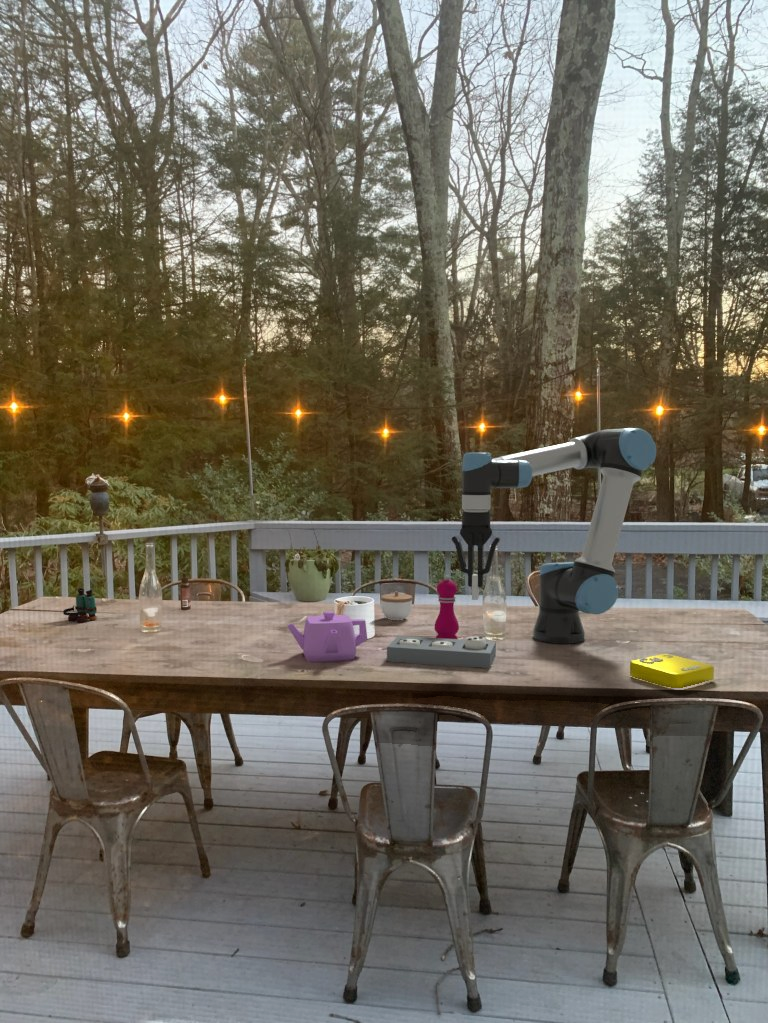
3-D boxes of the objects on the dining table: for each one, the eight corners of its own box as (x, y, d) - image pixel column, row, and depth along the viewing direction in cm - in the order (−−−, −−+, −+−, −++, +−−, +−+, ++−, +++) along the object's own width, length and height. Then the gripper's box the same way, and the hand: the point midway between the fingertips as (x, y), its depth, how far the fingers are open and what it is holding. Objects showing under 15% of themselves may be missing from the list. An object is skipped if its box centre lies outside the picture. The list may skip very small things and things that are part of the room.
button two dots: (421, 651, 211) (421, 638, 211) (417, 657, 206) (417, 643, 205) (402, 650, 213) (402, 637, 212) (397, 655, 207) (397, 641, 207)
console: (495, 655, 210) (495, 641, 210) (490, 668, 197) (490, 653, 197) (398, 649, 217) (398, 635, 216) (386, 661, 204) (386, 646, 204)
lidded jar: (414, 616, 262) (415, 589, 262) (408, 623, 252) (408, 594, 251) (384, 615, 265) (384, 588, 264) (377, 621, 254) (377, 593, 254)
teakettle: (371, 653, 213) (371, 610, 212) (334, 667, 199) (333, 620, 198) (323, 645, 222) (323, 603, 221) (285, 658, 208) (284, 613, 207)
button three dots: (486, 649, 207) (487, 635, 206) (484, 654, 201) (484, 640, 201) (466, 648, 208) (466, 634, 208) (463, 653, 203) (463, 639, 202)
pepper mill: (457, 645, 222) (457, 577, 220) (432, 644, 223) (433, 576, 222) (460, 639, 229) (460, 573, 227) (436, 638, 230) (436, 572, 229)
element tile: (677, 693, 178) (678, 673, 177) (626, 677, 190) (626, 658, 190) (717, 683, 186) (717, 664, 185) (665, 669, 198) (665, 650, 198)
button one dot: (453, 654, 209) (454, 640, 209) (450, 659, 204) (450, 645, 203) (433, 652, 210) (433, 639, 210) (430, 658, 205) (430, 644, 205)
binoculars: (56, 593, 253) (82, 586, 261) (60, 624, 254) (86, 615, 263) (73, 596, 248) (99, 588, 256) (77, 627, 250) (103, 618, 258)
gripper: (502, 510, 204) (501, 597, 206) (454, 509, 207) (453, 595, 209) (499, 512, 197) (498, 602, 198) (449, 511, 200) (448, 600, 202)
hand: (475, 598), depth 204 cm, fingers closed
